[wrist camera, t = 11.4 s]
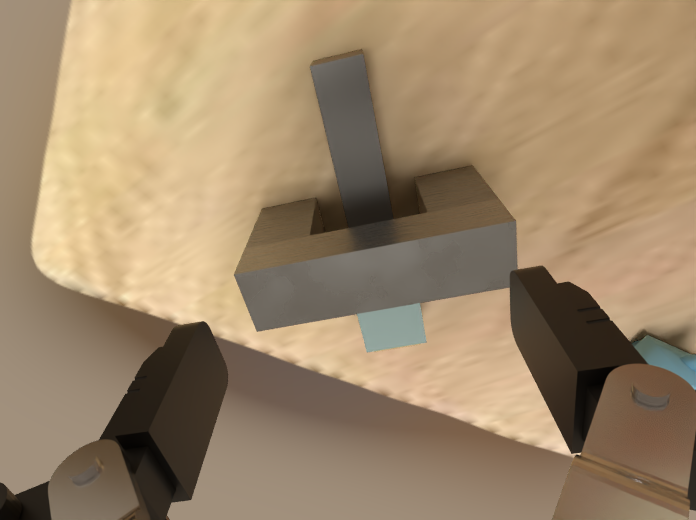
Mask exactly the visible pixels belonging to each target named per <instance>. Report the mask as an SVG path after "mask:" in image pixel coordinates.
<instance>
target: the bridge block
mask: <svg viewBox="0 0 696 520" xmlns="http://www.w3.org/2000/svg"><path fill="white" fill-rule="evenodd" d="M414 179H415V185H416V192H417V199H418V206H419V212H420V214H417V215H412V216H407V217H402V218H397V219H392V220H387V221H382V222H377V223H372V224H367V225H361V226H356V227H351V228H346V229H341V230H336V231H331V232H326V233H325V229H324V225H323V222H322V218H321V214H320V211H319V207H318V203H317V199H316V198H312V199H307V200H303V201H298V202H293V203H288V204H283V205H278V206H273V207H269V208H264V209H262V210H261V212H260V215H259V217H258V219H257V222H256V224H255V226H254V229H253V231H252V233H251V236H250V238H249V240H248V243H247V245H246V247H245V250H244V252H243V254H242V257H241V259H240V261H239V264H238V266H237V268H236V271H235V273H234V276H235V279H236V281H237V284H238V286H239V289H240V291H241V293H242V296H243V298H244V301H245V303H246V306H247V308H248V311H249V313H250V316H251V318H252V321H253V323H254V326H255V328H256V331H257V332H258V331H263V330H269V329H275V328H280V327H286V326H292V325H298V324H303V323H309V322H315V321H320V320H326V319H332V318H337V317H343V316H349V315H355V314H360V313H366V312H372V311H377V310H383V309H389V308H394V307H400V306H406V305H412V304H417V303H423V302H429V301H434V300H440V299H446V298H451V297H457V296H463V295H469V294H474V293H480V292H486V291H491V290H497V289H503V288H509V287H510V272H511V271H513V270H518V268H517V239H516V220H515V219H514V218H513V216H512V215H511V214H510V213H509V211H508V210H507V209H506V208H505V206H504V205H503V204H502V202H501V201H500V200H499V199H498V197H497V196H496V195H495V193H494V192H493V191H492V190H491V188H490V187H489V186H488V185H487V183H486V182H485V181H484V179H483V178H482V177H481V176H480V174H479V173H478V172H477V170H476V169H475V168H474V167H473V166H468V167H463V168H458V169H453V170H448V171H444V172H439V173H434V174H429V175H424V176H419V177H414Z"/></svg>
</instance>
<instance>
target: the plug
mask: <svg viewBox="0 0 696 520" xmlns="http://www.w3.org/2000/svg"><path fill="white" fill-rule="evenodd" d="M310 69H311V73H312V77H313V82H314V86H315V90H316V94H317V98H318V102H319V107H320V111H321V115H322V119H323V123H324V127H325V132H326V136H327V140H328V144H329V148H330V152H331V157H332V161H333V165H334V169H335V173H336V177H337V182H338V186H339V190H340V194H341V198H342V202H343V207H344V211H345V215H346V219H347V223H348V227H349V228H351V227H356V226H361V225H367V224H372V223H377V222H382V221H387V220H392V219H393V214H392V208H391V203H390V197H389V192H388V187H387V181H386V176H385V170H384V165H383V159H382V154H381V148H380V143H379V137H378V132H377V126H376V121H375V116H374V110H373V105H372V99H371V94H370V88H369V83H368V77H367V72H366V66H365V61H364V55H363V52H362V49H361V50H357V51H352V52H348V53H344V54H340V55H336V56H332V57H327V58H323V59H319V60H315V61H313V62H312V64H311V66H310ZM357 316H358V320H359V323H360V327H361V331H362V335H363V339H364V343H365V347H366V351H367V352H373V351H374V352H377V351H383V350H389V349H395V348H401V347H407V346H413V345H419V344H421V343H427V342H426V336H425V330H424V324H423V318H422V312H421V306H420V303H417V304H412V305H406V306H400V307H394V308H389V309H383V310H377V311H372V312H366V313H360V314H357Z"/></svg>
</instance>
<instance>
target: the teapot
mask: <svg viewBox="0 0 696 520" xmlns="http://www.w3.org/2000/svg"><path fill="white" fill-rule="evenodd" d="M631 344H632V345H633V346H634V347H635V349H636V350H637V351H638V352H639V353H640V355H641V356H642V357H643V358H644V359H645V361H646V362H647V363H648V364H649V365H653V366H657V367H661V368H664V369H666V370H669V371H671V372H673V373H675V374H677V375H679V376H680V377H682V378H683V379H684V380H686V381H687V382H688V383H689V384H690V385H691V386H692V387H693V389H694V390H696V354H690V353H687V352H685V351H683V350H681V349H678V348H676V347H674V346H672V345H669V344H667V343H665V342H663V341H660V340H658V339H656V338H654V337H651V336H649V335H646V336H645V337H644V338H643V339H642V340H639V341H635V342H633V343H631Z"/></svg>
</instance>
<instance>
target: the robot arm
mask: <svg viewBox="0 0 696 520" xmlns="http://www.w3.org/2000/svg"><path fill="white" fill-rule="evenodd" d="M510 314H511V326H512V331H513V335H514V338H515V341H516V344H517V346H518V348H519V350H520V352H521V354H522V356H523V358H524V360H525V362H526V364H527V366H528V368H529V370H530V372H531V374H532V376H533V378H534V380H535V382H536V384H537V386H538V388H539V390H540V392H541V394H542V396H543V398H544V400H545V402H546V404H547V406H548V408H549V410H550V412H551V414H552V416H553V418H554V420H555V422H556V424H557V426H558V428H559V430H560V432H561V434H562V436H563V438H564V440H565V442H566V444H567V446H568V448H569V450H570V452H571V454H573V453H581V454H580V455H576V456H575V457H574V459H573V461H572V464H571V466H570V469H569V472H568V475H567V478H566V481H565V484H564V486H563V489H562V492H561V495H560V498H559V500H558V503H557V506H556V509H555V512H554V515H553V518H552V520H688V519H689V509H690V510H696V390H694V389H693V387H692V386H691V385H690V384H689V383H688V382H687V381H686V380H684V379H683V378H682V377H680V376H679V375H677V374H675V373H673V372H671V371H669V370H666V369H664V368H661V367H657V366H653V365H649V364H648V363H647V362H646V361H645V359H644V358H643V357H642V356H641V355H640V353H639V352H638V351H637V350H636V349H635V347H634V346H633V345H632V344H631V343H630V342H629V340H628V339H627V338H626V337H625V336H624V334H623V333H622V332H621V331H620V330H619V328H618V327H617V326H616V325H615V324H614V323H613V321H610V318H609V317H608V315H607V314H606V313H605V312H604V311H603V309H600V306H599V305H598V303H597V302H596V301H595V300H594V299H593V298H592V296H591V295H590V294H589V293H588V292H587V291H585V290H583V289H581V288H580V287H578V286H576V285H574V284H572V283H571V282H564V283H558V284H557V283H556V282H555V280H554V279H553V278H552V276H551V275H550V274H549V272H548V271H547V270H546V268H545V267H544V266H536V267H530V268H524V269H518V270H513V271H511V272H510ZM227 384H228V371H227V366H226V363H225V361H224V359H223V356H222V354H221V352H220V350H219V348H218V345H217V343H216V341H215V339H214V336H213V334H212V332H211V329H210V327H209V326H208V324H207V323H206V322H204V321H202V322H196V323H190V324H184V325H178V326H175V327H174V328H173V330H172V331H171V333H170V335H169V337H168V339H167V341H166V342H165V345H164V346H163V347H159V348H158V349H157V350H156V351H155V352H153V353H152V354H151V355H150V356H149V357H148V358H147V359H146V360H145V361H144V362H143V364H142V366H141V368H140V369H139V371H138V373H137V374H136V376H135V381H132V383H131V385H130V387H129V388H128V390H127V391H128V393H127V394H125V395H124V397H123V399H122V401H121V402H120V404H119V406H118V408H117V409H116V411H115V413H114V415H113V416H112V418H111V420H110V422H109V423H108V425H107V427H106V428H105V431H104V432H103V434H102V435H101V437H100V439H99V440H98V441H94V442H91V443H89V444H87V445H85V446H83V447H81V448H79V449H78V450H76V451H75V452H73V453H72V454H71V455H69V456H68V457H67V458H66V459H65V460H64V461H63V462H62V463H61V464H60V465H59V466H58V468H57V469H56V470H55V472H54V473H53V475H52V477H51V479H50V481H48V482H46V483H43V484H41V485H38V486H36V487H34V488H31V489H29V490H26V491H24V492H21V493H19V494H16V495H14V494H13V493H12V492H11V491H10V490H9V489H8V488H7V487H6V486H5V485H4V484H3V483H0V520H170V519H169V517H168V516H167V513H168V510H169V508H170V505H171V502H179V501H187V500H191V499H192V495H193V492H194V489H195V486H196V483H197V480H198V477H199V473H200V470H201V467H202V464H203V461H204V458H205V455H206V451H207V448H208V445H209V442H210V439H211V436H212V433H213V429H214V426H215V423H216V420H217V417H218V414H219V411H220V407H221V404H222V401H223V398H224V395H225V391H226V388H227Z"/></svg>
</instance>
